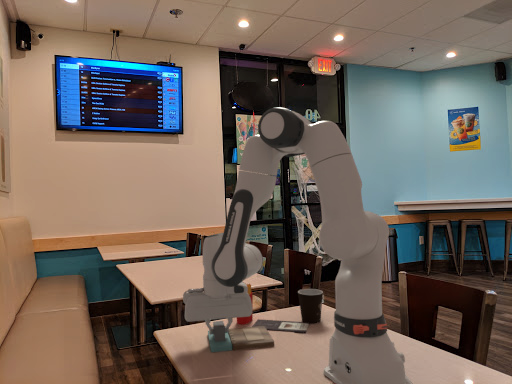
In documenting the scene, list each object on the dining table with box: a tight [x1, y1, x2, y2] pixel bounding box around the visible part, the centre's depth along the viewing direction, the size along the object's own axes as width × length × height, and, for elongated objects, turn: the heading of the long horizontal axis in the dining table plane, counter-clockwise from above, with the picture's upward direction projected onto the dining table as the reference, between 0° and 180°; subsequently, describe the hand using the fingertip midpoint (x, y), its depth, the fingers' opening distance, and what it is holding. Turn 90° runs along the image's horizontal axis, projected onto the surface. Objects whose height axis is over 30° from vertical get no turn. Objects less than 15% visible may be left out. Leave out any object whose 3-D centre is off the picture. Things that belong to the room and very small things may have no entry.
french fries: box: [236, 282, 254, 326], centre depth 133 cm, size 9×4×13 cm, turn 156°
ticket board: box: [228, 326, 275, 351], centre depth 116 cm, size 14×12×2 cm
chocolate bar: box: [251, 319, 310, 334], centre depth 127 cm, size 9×1×18 cm
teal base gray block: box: [207, 320, 233, 353], centre depth 114 cm, size 14×6×5 cm, turn 11°
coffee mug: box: [297, 288, 324, 325], centre depth 134 cm, size 12×9×10 cm
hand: (219, 333), depth 114 cm, fingers closed on teal base gray block, 3 cm apart
